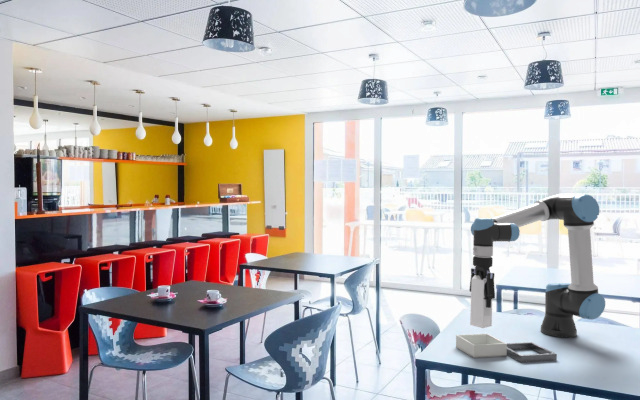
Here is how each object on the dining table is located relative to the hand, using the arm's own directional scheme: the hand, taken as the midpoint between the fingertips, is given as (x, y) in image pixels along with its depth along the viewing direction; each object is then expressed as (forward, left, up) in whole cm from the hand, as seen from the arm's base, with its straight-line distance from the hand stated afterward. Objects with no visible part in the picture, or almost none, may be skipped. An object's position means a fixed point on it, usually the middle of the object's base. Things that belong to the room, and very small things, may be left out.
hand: (481, 312), depth 203 cm
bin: (0, 0, -16) cm, 16 cm away
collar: (-16, +7, -16) cm, 24 cm away
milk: (0, 0, -5) cm, 5 cm away
